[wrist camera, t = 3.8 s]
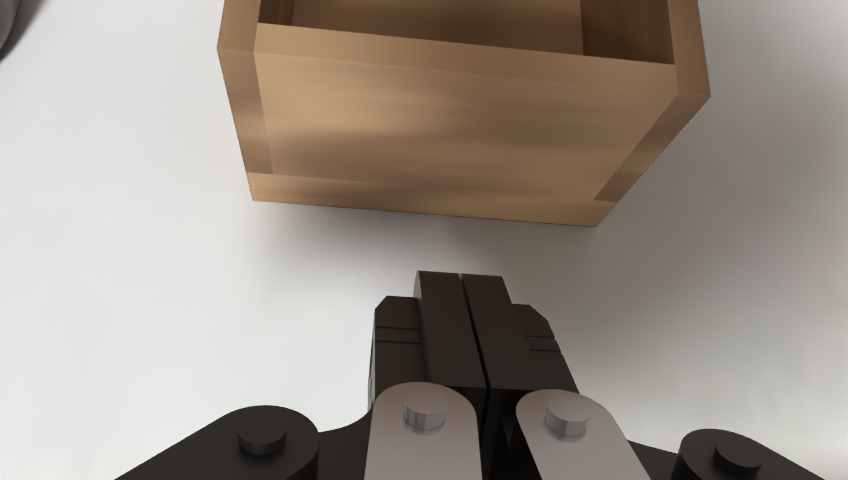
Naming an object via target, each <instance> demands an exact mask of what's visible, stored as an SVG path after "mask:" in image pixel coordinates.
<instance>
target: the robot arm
mask: <svg viewBox="0 0 848 480" xmlns="http://www.w3.org/2000/svg"><path fill="white" fill-rule="evenodd" d="M554 338H555V337H554V335H553V332H552V330H551V328H550V326H549V323H548V321H547V320H546V319H545V318H544V317H543V316H542V315H540V314H539V313H538V312H537V311H536V310H535V309H533V308H532V307H531V306H530V305H523V304H512V303H511V300H510V297H509V295H508V292H507V289H506V286H505V284H504V281H503V278H502V277H501V276H489V275H475V274H460V275H459V274H458V273H444V272H430V271H417V273H416V278H415V285H414V294H413V297H399V296H386V297H385V298H384V300H383V301H382V302H381V303H380V304H379V305H378V306H377V308H376V309H375V313H374V324H373V335H372V346H371V357H370V368H369V379H368V413H367V414H366V415H365V416H364V417H362V418H361V419H359V420H358V421H356V422H354V423H352V424H350V425H348V426H345V427H342V428H339V429H335V430H330V431H325V432H319V433H318V430H317V428H316V427H315V425H314V424H313V423H312V422H311V421H310V420H309V419H308V418H307V417H305V416H304V415H303V414H301V413H299V412H297V411H294V410H291V409H288V408H284V407H279V406H270V405H262V406H251V407H246V408H242V409H238V410H235V411H233V412H230V413H228V414H226V415H224V416H222V417H221V418H219V419H217V420H216V421H214V422H212V423H210V424H209V425H207V426H205V427H204V428H202V429H200V430H198V431H197V432H195V433H193V434H192V435H190V436H188V437H186V438H185V439H183V440H181V441H180V442H178V443H176V444H174V445H173V446H171V447H169V448H168V449H166V450H164V451H163V452H161V453H159V454H157V455H156V456H154V457H152V458H151V459H149V460H147V461H145V462H144V463H142V464H140V465H139V466H137V467H135V468H133V469H132V470H130V471H128V472H127V473H125V474H123V475H122V476H120V477H118V478H116V479H115V480H824V479H822V478H821V477H819V476H817V475H815V474H814V473H812V472H810V471H808V470H806V469H805V468H803V467H801V466H799V465H797V464H796V463H794V462H792V461H790V460H789V459H787V458H785V457H783V456H781V455H780V454H778V453H776V452H774V451H772V450H771V449H769V448H767V447H765V446H764V445H762V444H760V443H758V442H756V441H754V440H752V439H750V438H748V437H745V436H743V435H740V434H737V433H734V432H730V431H725V430H719V429H700V430H696V431H692V432H691V433H689V434H687V435H686V436H685V437H684V438H683V440H682V442H681V445H680V448H679V451H678V454H676V453H672V452H668V451H665V450H661V449H657V448H653V447H649V446H645V445H642V444H638V443H635V442H632V441H629V440H627V439H626V438H625V436H624V434H623V433H622V431H621V429H620V428H619V426H618V424H617V423H616V421H615V419H614V418H613V417H612V415H611V414H610V413H609V412H608V411H607V410H606V409H605V408H604V407H602V406H601V405H600V404H598V403H597V402H595V401H593V400H592V399H590V398H587V397H585V396H583V395H580V393H579V391H578V389H577V386H576V384H575V382H574V380H573V377H572V375H571V373H570V371H569V368H568V366H567V364H566V362H565V359H564V357H563V355H562V354H561V350H560V348H559V346H558V344H557V341H556V340H554Z"/></svg>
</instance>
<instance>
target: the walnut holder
mask: <svg viewBox="0 0 848 480" xmlns="http://www.w3.org/2000/svg"><path fill="white" fill-rule="evenodd" d="M217 52H218V56H219V60H220V65H221V69H222V73H223V77H224V81H225V86H226V90H227V94H228V98H229V102H230V107H231V111H232V115H233V119H234V124H235V128H236V132H237V136H238V140H239V145H240V149H241V153H242V157H243V161H244V166H245V170H246V174H247V178H248V182H249V187H250V191H251V195H252V199H253V200H254V201H267V202H280V203H293V204H306V205H319V206H332V207H345V208H358V209H371V210H384V211H397V212H411V213H424V214H437V215H450V216H463V217H476V218H489V219H502V220H515V221H528V222H541V223H554V224H567V225H580V226H593V227H596V226H597V225H598V224H599V223H600V222H601V220H602V219H603V218H604V217H605V216H606V215H607V214H608V212H609V211H610V210H611V209H612V208H613V207H614V206H615V205H616V203H617V202H618V201H619V200H620V199H621V198H622V197H623V195H624V194H625V193H626V192H627V191H628V190H629V189H630V188H631V186H632V185H633V184H634V183H635V182H636V181H637V180H638V178H639V177H640V176H641V175H642V174H643V173H644V172H645V170H646V169H647V168H648V167H649V166H650V165H651V164H652V163H653V161H654V160H655V159H656V158H657V157H658V156H659V155H660V153H661V152H662V151H663V150H664V149H665V148H666V147H667V146H668V144H669V143H670V142H671V141H672V140H673V139H674V138H675V136H676V135H677V134H678V133H679V132H680V131H681V130H682V128H683V127H684V126H685V125H686V124H687V123H688V122H689V121H690V119H691V118H692V117H693V116H694V115H695V114H696V113H697V111H698V110H699V109H700V108H701V107H702V106H703V105H704V104H705V102H706V101H707V100H708V99H709V98H710V97H711V94H710V87H709V80H708V73H707V66H706V59H705V52H704V44H703V37H702V30H701V23H700V16H699V9H698V2H697V0H225V2H224V8H223V14H222V20H221V26H220V32H219V38H218V44H217Z"/></svg>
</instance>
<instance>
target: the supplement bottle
mask: <svg viewBox="0 0 848 480" xmlns="http://www.w3.org/2000/svg"><path fill="white" fill-rule="evenodd" d="M17 8H18V0H0V50H1V48H2V47H3V45H4V43H5V41H6V40H7V38H8V36H9V34H10V31H11V29H12V27H13V24H14V20H15V17H16V13H17Z"/></svg>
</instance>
